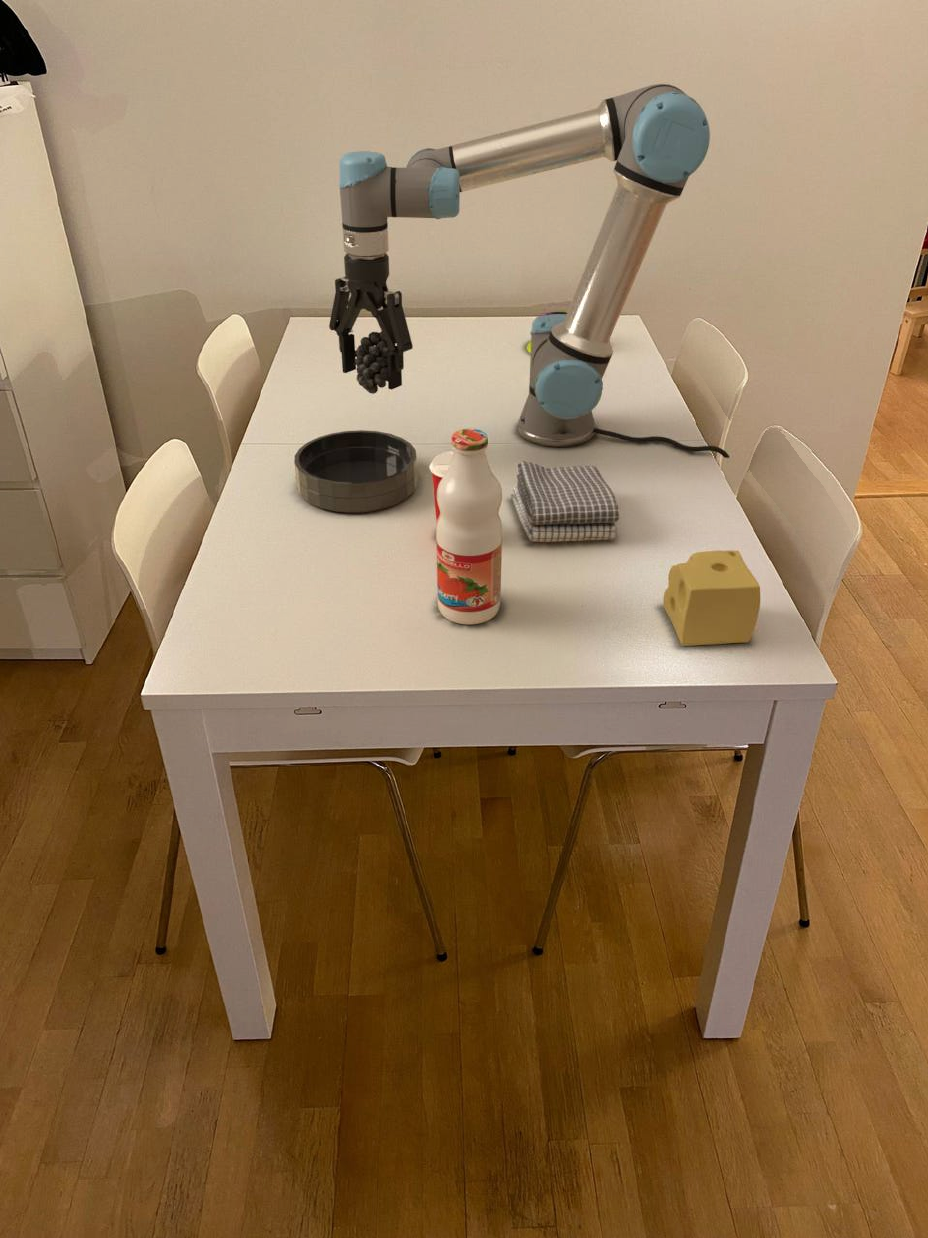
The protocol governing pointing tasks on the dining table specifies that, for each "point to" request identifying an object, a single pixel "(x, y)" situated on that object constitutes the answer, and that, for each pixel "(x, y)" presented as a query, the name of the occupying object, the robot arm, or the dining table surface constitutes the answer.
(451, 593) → the fruit juice
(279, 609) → the dining table surface
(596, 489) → the towel
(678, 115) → the robot arm
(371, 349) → the fruit
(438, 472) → the paper cup
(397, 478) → the bowl
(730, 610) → the cheese
